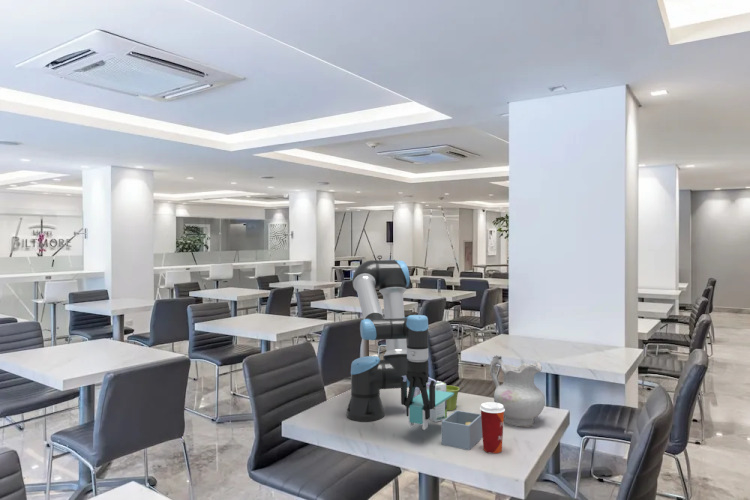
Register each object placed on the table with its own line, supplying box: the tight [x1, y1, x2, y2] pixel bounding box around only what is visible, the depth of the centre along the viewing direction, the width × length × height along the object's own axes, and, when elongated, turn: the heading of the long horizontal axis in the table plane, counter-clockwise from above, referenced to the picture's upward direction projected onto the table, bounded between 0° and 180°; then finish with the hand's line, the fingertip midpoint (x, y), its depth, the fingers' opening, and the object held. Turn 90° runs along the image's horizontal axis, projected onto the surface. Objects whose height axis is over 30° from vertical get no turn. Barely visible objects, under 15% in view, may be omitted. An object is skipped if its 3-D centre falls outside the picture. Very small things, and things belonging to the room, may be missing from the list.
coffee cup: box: [479, 401, 505, 454], centre depth 171 cm, size 8×8×15 cm
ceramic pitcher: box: [489, 355, 546, 428], centre depth 199 cm, size 22×20×25 cm
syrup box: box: [426, 380, 448, 423], centre depth 202 cm, size 6×6×14 cm
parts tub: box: [441, 409, 483, 451], centre depth 179 cm, size 14×10×8 cm
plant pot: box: [446, 384, 460, 412], centre depth 216 cm, size 9×9×9 cm
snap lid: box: [410, 389, 454, 425], centre depth 186 cm, size 23×11×6 cm, turn 150°
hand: (418, 426), depth 178 cm, fingers closed on snap lid, 5 cm apart
